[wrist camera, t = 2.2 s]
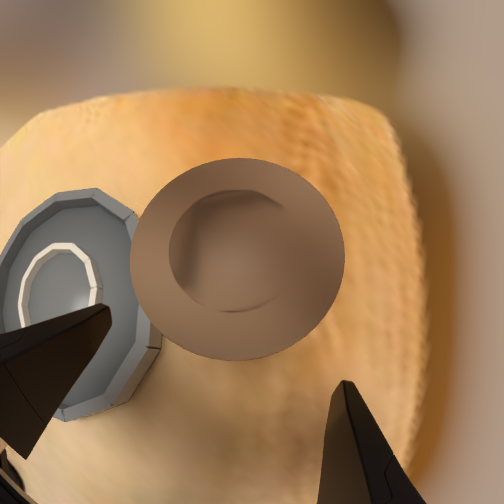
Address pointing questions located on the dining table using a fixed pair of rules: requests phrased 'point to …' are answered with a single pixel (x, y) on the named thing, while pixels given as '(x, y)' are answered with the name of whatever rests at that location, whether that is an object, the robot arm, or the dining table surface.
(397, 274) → the dining table surface
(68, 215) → the round tray
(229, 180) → the bead spool
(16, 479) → the carrying case or bag
